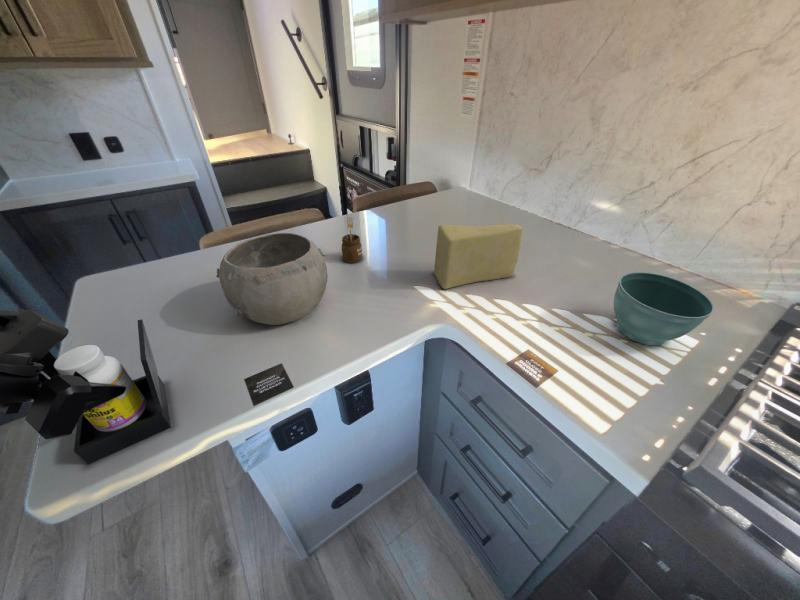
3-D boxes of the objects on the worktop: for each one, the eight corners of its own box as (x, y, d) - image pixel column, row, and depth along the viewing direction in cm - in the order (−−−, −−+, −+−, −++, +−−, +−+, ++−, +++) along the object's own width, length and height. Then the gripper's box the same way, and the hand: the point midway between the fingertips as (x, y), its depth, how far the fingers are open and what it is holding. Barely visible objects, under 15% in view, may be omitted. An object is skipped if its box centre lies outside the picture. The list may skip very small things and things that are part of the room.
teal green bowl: (700, 363, 64) (735, 321, 57) (614, 352, 66) (639, 311, 59) (661, 314, 77) (685, 276, 70) (590, 306, 79) (608, 268, 72)
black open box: (88, 464, 45) (73, 451, 43) (91, 413, 52) (79, 400, 50) (170, 427, 50) (161, 413, 48) (164, 385, 57) (155, 371, 55)
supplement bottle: (84, 434, 47) (27, 375, 39) (116, 397, 52) (71, 339, 45) (130, 434, 47) (82, 375, 40) (157, 397, 52) (119, 339, 45)
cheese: (504, 266, 94) (516, 218, 85) (520, 284, 86) (534, 233, 77) (432, 272, 91) (437, 222, 82) (441, 290, 83) (448, 238, 74)
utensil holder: (342, 264, 93) (338, 225, 86) (342, 254, 98) (339, 217, 91) (362, 263, 94) (360, 225, 87) (362, 253, 99) (359, 216, 92)
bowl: (301, 270, 90) (292, 219, 81) (350, 305, 77) (345, 249, 68) (217, 302, 77) (195, 246, 68) (258, 351, 64) (237, 290, 55)
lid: (140, 359, 42) (146, 358, 43) (137, 320, 49) (142, 319, 49) (157, 413, 48) (162, 411, 48) (152, 370, 54) (157, 369, 55)
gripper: (11, 339, 30) (173, 351, 44) (-56, 285, 37) (103, 311, 51) (-48, 455, 29) (138, 429, 43) (-106, 376, 36) (71, 376, 50)
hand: (111, 380), depth 47 cm, fingers closed on supplement bottle, 6 cm apart
